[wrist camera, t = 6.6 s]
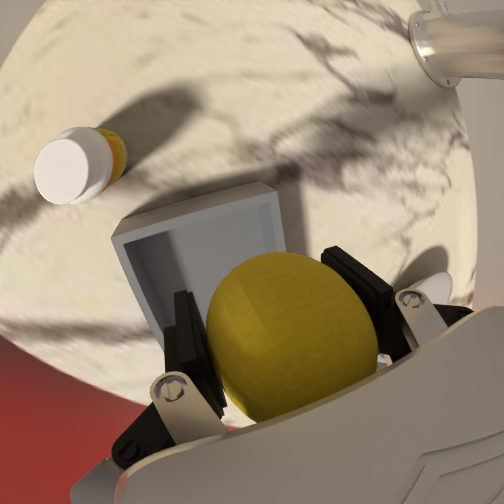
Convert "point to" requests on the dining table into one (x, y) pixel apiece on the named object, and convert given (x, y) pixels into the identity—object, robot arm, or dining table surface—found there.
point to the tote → (195, 246)
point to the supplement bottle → (80, 164)
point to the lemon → (287, 334)
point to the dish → (432, 292)
